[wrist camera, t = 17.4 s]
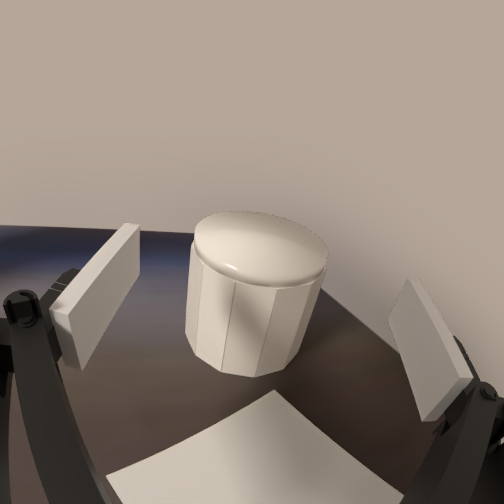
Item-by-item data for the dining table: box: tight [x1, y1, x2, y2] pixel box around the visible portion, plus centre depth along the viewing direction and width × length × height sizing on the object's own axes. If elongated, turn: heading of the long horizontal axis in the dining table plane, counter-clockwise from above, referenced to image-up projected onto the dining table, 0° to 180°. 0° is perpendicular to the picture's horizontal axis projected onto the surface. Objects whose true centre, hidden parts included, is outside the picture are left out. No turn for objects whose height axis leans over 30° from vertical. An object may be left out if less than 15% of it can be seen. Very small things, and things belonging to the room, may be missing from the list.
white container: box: [185, 211, 328, 377], centre depth 28 cm, size 10×10×10 cm
